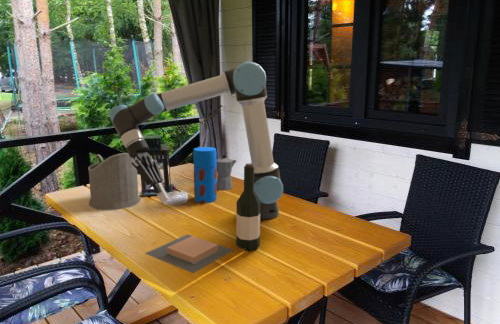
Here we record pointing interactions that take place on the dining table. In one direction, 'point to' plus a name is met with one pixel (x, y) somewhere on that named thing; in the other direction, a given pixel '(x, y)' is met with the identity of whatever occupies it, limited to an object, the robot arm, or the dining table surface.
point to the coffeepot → (224, 173)
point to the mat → (164, 256)
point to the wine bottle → (248, 214)
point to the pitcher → (113, 183)
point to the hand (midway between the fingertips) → (165, 200)
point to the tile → (192, 249)
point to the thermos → (205, 174)
